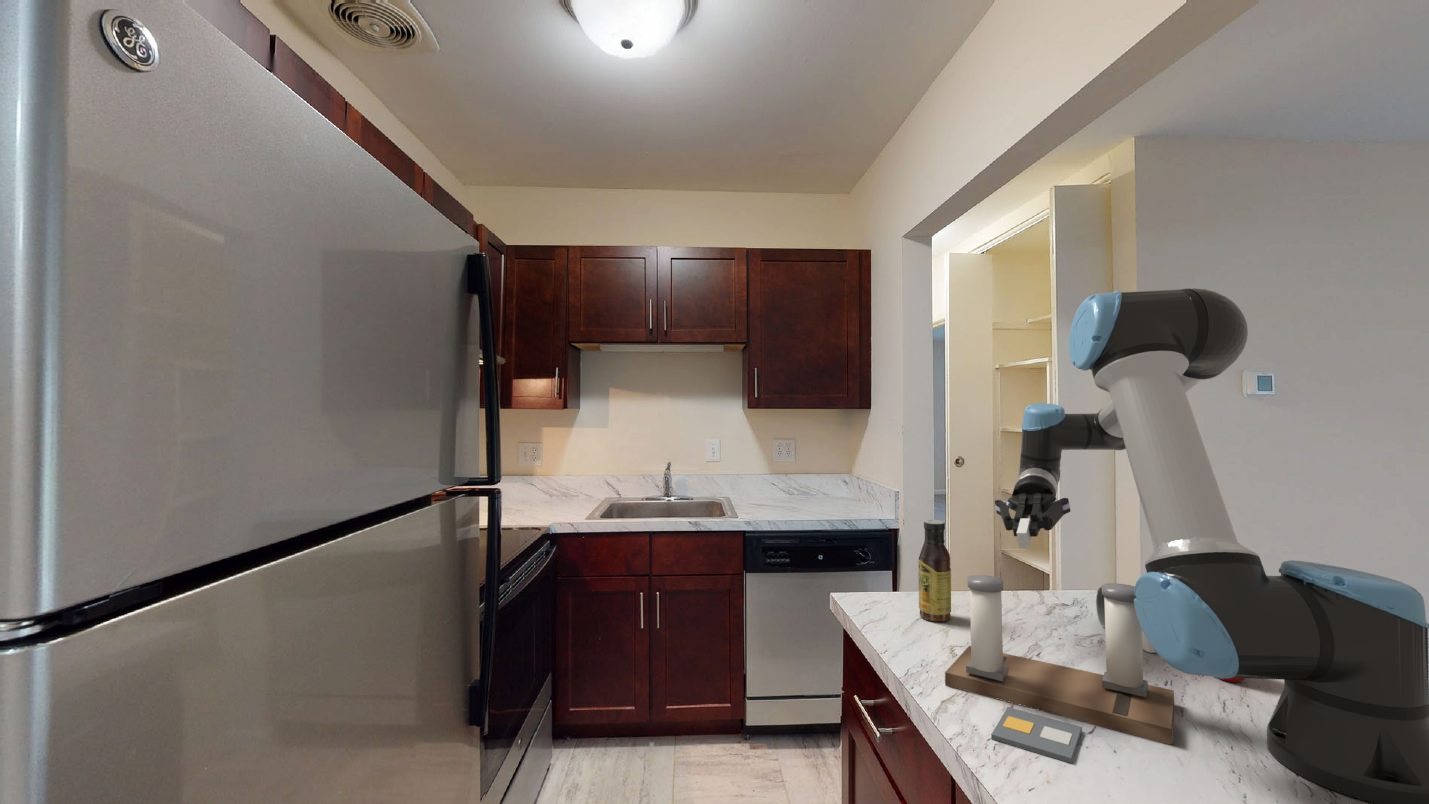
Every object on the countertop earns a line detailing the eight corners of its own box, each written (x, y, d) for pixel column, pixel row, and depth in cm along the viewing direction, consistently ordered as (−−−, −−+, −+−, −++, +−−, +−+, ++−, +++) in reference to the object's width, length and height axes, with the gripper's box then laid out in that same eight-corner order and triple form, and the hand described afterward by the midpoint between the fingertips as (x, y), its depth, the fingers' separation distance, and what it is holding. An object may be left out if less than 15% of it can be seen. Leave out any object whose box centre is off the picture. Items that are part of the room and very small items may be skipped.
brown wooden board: (1174, 704, 86) (1173, 689, 86) (1172, 745, 76) (1171, 728, 76) (969, 657, 103) (969, 645, 103) (945, 685, 93) (945, 671, 93)
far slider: (1009, 671, 92) (1007, 578, 93) (1001, 683, 88) (999, 586, 89) (974, 662, 96) (972, 573, 96) (964, 674, 92) (962, 580, 92)
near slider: (1148, 685, 87) (1145, 587, 87) (1146, 699, 83) (1143, 595, 83) (1105, 676, 90) (1102, 581, 90) (1101, 689, 86) (1098, 589, 86)
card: (1081, 731, 79) (1081, 725, 79) (1071, 763, 72) (1071, 757, 72) (1007, 710, 85) (1007, 705, 85) (991, 738, 78) (991, 733, 78)
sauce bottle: (915, 612, 126) (913, 517, 127) (946, 613, 126) (944, 517, 126) (923, 623, 120) (921, 523, 120) (956, 624, 119) (953, 523, 120)
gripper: (1075, 509, 117) (1070, 562, 98) (1002, 511, 125) (985, 560, 105) (1069, 472, 117) (1063, 518, 97) (996, 476, 124) (977, 520, 105)
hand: (1022, 540), depth 101 cm, fingers closed
